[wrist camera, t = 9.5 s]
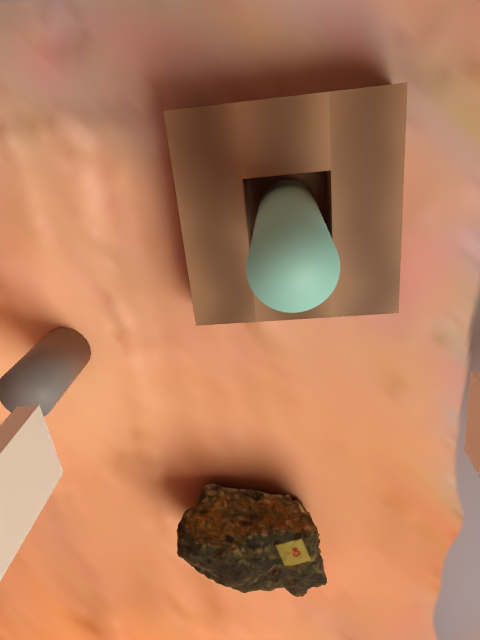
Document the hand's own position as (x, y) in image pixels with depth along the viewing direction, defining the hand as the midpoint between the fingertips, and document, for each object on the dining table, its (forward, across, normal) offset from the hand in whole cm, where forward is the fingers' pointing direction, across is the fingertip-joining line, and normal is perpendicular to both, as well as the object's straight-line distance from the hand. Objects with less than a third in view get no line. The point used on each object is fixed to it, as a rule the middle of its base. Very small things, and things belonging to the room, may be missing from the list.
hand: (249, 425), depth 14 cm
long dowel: (+21, +2, +2) cm, 22 cm away
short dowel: (+22, -17, -7) cm, 28 cm away
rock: (+22, -4, -25) cm, 34 cm away
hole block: (+21, +2, +2) cm, 22 cm away
